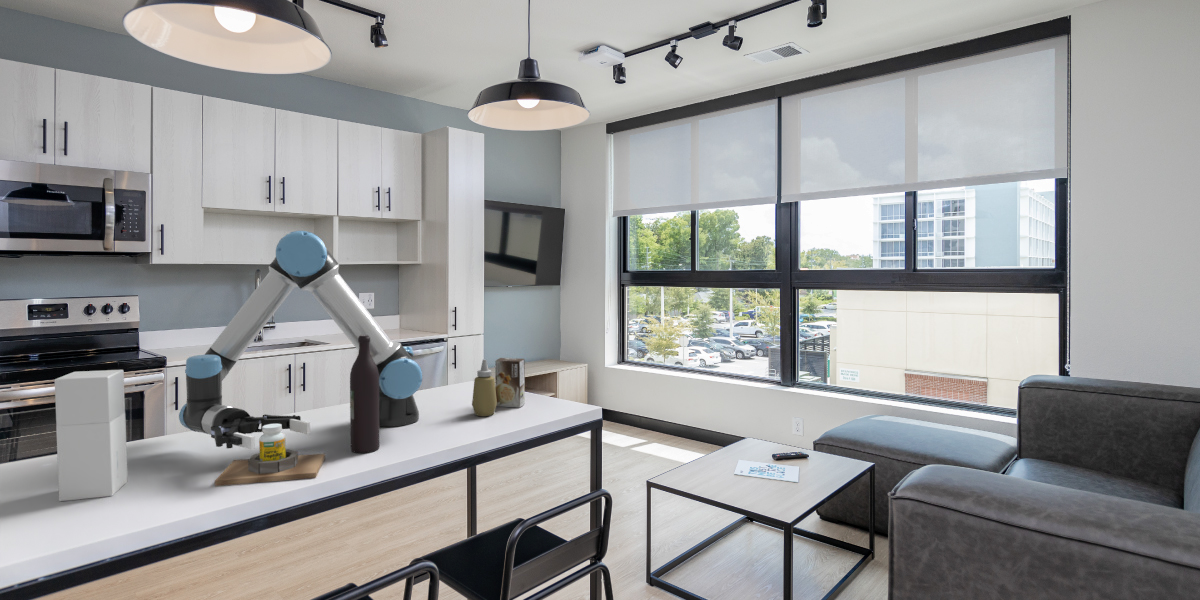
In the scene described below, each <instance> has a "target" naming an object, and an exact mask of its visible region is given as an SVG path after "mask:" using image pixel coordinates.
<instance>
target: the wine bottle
mask: <svg viewBox="0 0 1200 600" xmlns="http://www.w3.org/2000/svg"><path fill="white" fill-rule="evenodd" d="M358 342H359V351H358V354H357V356H356V359H355V361H354V362H353V364H352V367H351V369H350V372H349V373H350V374H349V415H350V416H349V417H350V418H349V421H350V431H349V432H350V438H349V439H350V451H351V453H352V452H353V453H356V454H367V452H368V453H372V451H373V452H375V451H377V450H379V448H380V426H379V372H378V368H377V366H376V364H375V362H374V360H373V358H372V356H371V354H370V349H369V342H370V337H369V335H361V336H359V338H358Z"/></svg>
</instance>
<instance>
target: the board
mask: <svg viewBox="0 0 1200 600" xmlns="http://www.w3.org/2000/svg"><path fill="white" fill-rule="evenodd" d="M298 453H299V452H298V451H297V450H291V449H287V448H286V458H284V459H281V460H277V461H263V462H262V461H260V452H259V453H255V454H252V455H251V456H250V457H249V458H244V459H243V458H242V459H234V460H232V461H231V463H230V464H229V465H228V466H227V467H226V468H225V469H223V472H221V473H220V474H219V476H218V477H217V478H216V479H215V480H214V486H215V487H218V486H219V487H221V486H231V485H244V484H257V483H267V482H269V483H270V482H278V481H279V482H280V481H292V480H293V481H294V480H295V481H296V480H303V479H305V478H306V479H316V478H317V477H318V474H319V472H320V469H321V468H322V465H323V463H324V461H325V459H326V454H325V453H316V454H315V453H313V454H300V455H298Z"/></svg>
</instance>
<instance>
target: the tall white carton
mask: <svg viewBox="0 0 1200 600" xmlns="http://www.w3.org/2000/svg"><path fill="white" fill-rule="evenodd" d="M124 373H125V372H124V369H107V370H89V371H88V370H87V371H85V370H83V371H73V372H70V373H68V374H65V375H63V376H60V377H57V378H55V379H54V398H55V400H54V401H55V421H56V422H55V423H56V424H55V425H56V426H55V427H56V452H57V454H56V455H57V457H56V458H57V477H58V481H57V482H58V500H59V502H66V501H77V500H86V499H95V498H105V497H113V496H114V495H115V494H116V493H117V492H118V491H119V490H120V489H121V488H122V487H123V486H124V485H126V483H127V482H128V456H127V453H128V452H127V431H126V430H127V429H126V428H127V427H126V426H127V425H126V424H127V423H126V422H127V421H126V408H125V407H126V406H125V405H126V404H125V403H126V401H125V378H124V377H125V374H124Z"/></svg>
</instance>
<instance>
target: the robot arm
mask: <svg viewBox="0 0 1200 600" xmlns="http://www.w3.org/2000/svg"><path fill="white" fill-rule="evenodd" d="M339 269H340V264H339V262H338V261H337V260H336V259H335V257H334V256H333V255H332V253H331V252H330V251H329V249H328V248H327V247H326V245H325V243H324V241H323V240H322V239H321V238H320V237H319V236H318V235H317V234H315V233H312V232H311V231H307V230H296V231H291V232H289V233H287V234H285V235H284V236H283V237H282V238H280V240H279V241H278V243H277V244H276V247H275V257H274V259H273V260H272V261H271V262H270V263H269V265H268V271H269V272H268V273H267V274H266V276H265V277H264V278H263V280H262V281H261V282H260V283H259V284H258V286H257V287H256V288H255V290H254V291H253V292H252V293H251V295H250V296H249V297H248V298H247V299H246V301H245V302H244V304H243V305H242V306H241V307H240V309H239V310H238V311H237V313H236V314H235V315H234V316H233V318H232V319H231V320H229V321H230V322H229V323H228V324H227V325H226V326H225V328H224V329H223V330H222V331H221V333H220V334H219V336H217V338H216V339H215V341H214V342H213V343H212V344H211V346H210V347H209V348H208V350H207V351H206V352H205V353H204V354H198V355H193V356H189V357H188V358H186V361H185V369H184V373H185V383H186V403H185V404H184V405H183V406H182V407H181V409H180V411H179V413H178V420H179V422H180V424H181V425H182V427H184V428H185V429H189V430H190V431H193V432H197V433H202V434H207V435H210V438H212V439H214V442H215V447H218V448H220V447H223V445H224V444H225V445H226V448H225V449H233V446H237V447H239V448H240V447H241V448H245V449H248V450H254V449H255V448H256V447H255V445H256V444H255V443H256V442H255V440H256V439H255V435H254V436H253V435H250V434H253V433H263V432H262V427H263V426H264V425H268V424H281V425H282V430H289V431H290V432H296V433H300V434H304V435H309V434H311V422H308V421H305V420H302V419H301V418H302V417H301V416H300V415H296V414H293V415H276V414H275V415H271V414H263V415H262V416H259V417H258V416H253V415H252V416H251V415H250V414H249V412H248V411H247V410H244V409H242V408H238V407H237V408H236V407H233V406H228V405H223V394H222V393H223V390H222V389H223V384H222V383H223V381H224V379H225V378H226V377H227V376H228V374H229V373H230V371H231V370H232V369H233V368H234V366H235V365H236V363H237V362H238V361H239V360H240V358H241V357H242V355H243V354H244V353H245V351H246V350H247V349H248V347H249V346H250V345H251V344H252V342H254V340H255V339H256V337H257V336H258V335H259V333H260V332H261V331H263V330H262V329H264V327H265V326H266V324H267V323H268V322H269V321H270V319H271V318H272V317H273V316H274V314H275V313H276V312H277V310H278V309H279V308H280V306H281V305H282V304H283V303H284V302H285V300H286V299H287V297H289V295H290V294H291V292H292V291H293V290H294V289H295V288H299V289H300V290H301V291H306V292H310V293H311V294H312V295H313V297H314V298H315V299H316V300H317V302H318V303H319V304H320V305H321V307H322V308H323V309H324V311H326V313H327V314H328V315H329V317H331V319H332V320H333V321H334V323H335V324H336V325H337V326H338V327H339V329H340V330H341V332H343V334H344V335H345V336H346V337H347V338H348V340H349V341H350V342H351V344H352V345H353V346H354V347H355V348H356V350H357V351H358V352H359V342H358V338H359V336H361V335H369V337H370V342H369V349H370V354H371V356H372V358H373V360H374V362H375V364H376V366H377V368H378V372H379V427H382V428H383V427H385V428H387V427H388V428H389V427H401V426H407V425H409V424H414V423H417V421H419V419H420V412H419V408H418V406H417V403H416V401H415V396H414V394H415V393H417V392H418V390H419V389H420V387H421V386H422V384H423V383H422V381H423V372H422V367H420V364H419V363H417V362H416V361H415V360H414V351H413V350H414V349H413V347H411V346H403V344H402V343H401V342H397V341H392V340H391V338H390V337H389V336H388V334H387V333H386V332H385V331H384V330H383V328H382V327H381V326H380V324H379V323H378V322H377V321H376V319H375V318H374V316H372V314H371V313H370V312H369V310H368V309H367V308H366V307H365V305H364V304H363V303H362V301H361V300H360V299H359V297H358V296H357V295H356V294H355V292H354V291H353V290H352V289H351V287H350V286H349V285H348V284H347V281H345V280H344V278H343V277H342V276H341V274H340V273H339Z"/></svg>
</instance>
